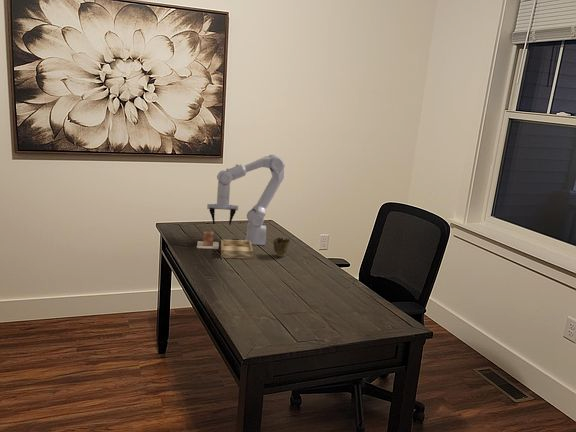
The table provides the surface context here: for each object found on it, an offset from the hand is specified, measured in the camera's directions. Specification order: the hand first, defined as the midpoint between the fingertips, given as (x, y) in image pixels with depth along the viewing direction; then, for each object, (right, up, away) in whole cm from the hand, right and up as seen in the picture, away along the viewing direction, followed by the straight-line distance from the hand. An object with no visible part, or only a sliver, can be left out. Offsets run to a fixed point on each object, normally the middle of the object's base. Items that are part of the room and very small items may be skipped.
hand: (221, 224), depth 252 cm
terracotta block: (-6, -10, -4) cm, 12 cm away
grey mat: (-6, -10, -3) cm, 12 cm away
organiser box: (+8, -13, -10) cm, 18 cm away
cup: (+28, -15, -10) cm, 33 cm away
